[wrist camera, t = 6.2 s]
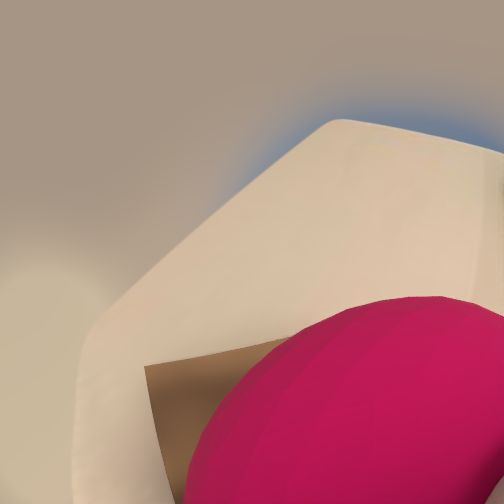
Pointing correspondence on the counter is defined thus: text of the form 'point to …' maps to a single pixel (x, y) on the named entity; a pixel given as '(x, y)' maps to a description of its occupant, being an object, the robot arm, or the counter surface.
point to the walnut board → (193, 402)
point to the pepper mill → (365, 413)
